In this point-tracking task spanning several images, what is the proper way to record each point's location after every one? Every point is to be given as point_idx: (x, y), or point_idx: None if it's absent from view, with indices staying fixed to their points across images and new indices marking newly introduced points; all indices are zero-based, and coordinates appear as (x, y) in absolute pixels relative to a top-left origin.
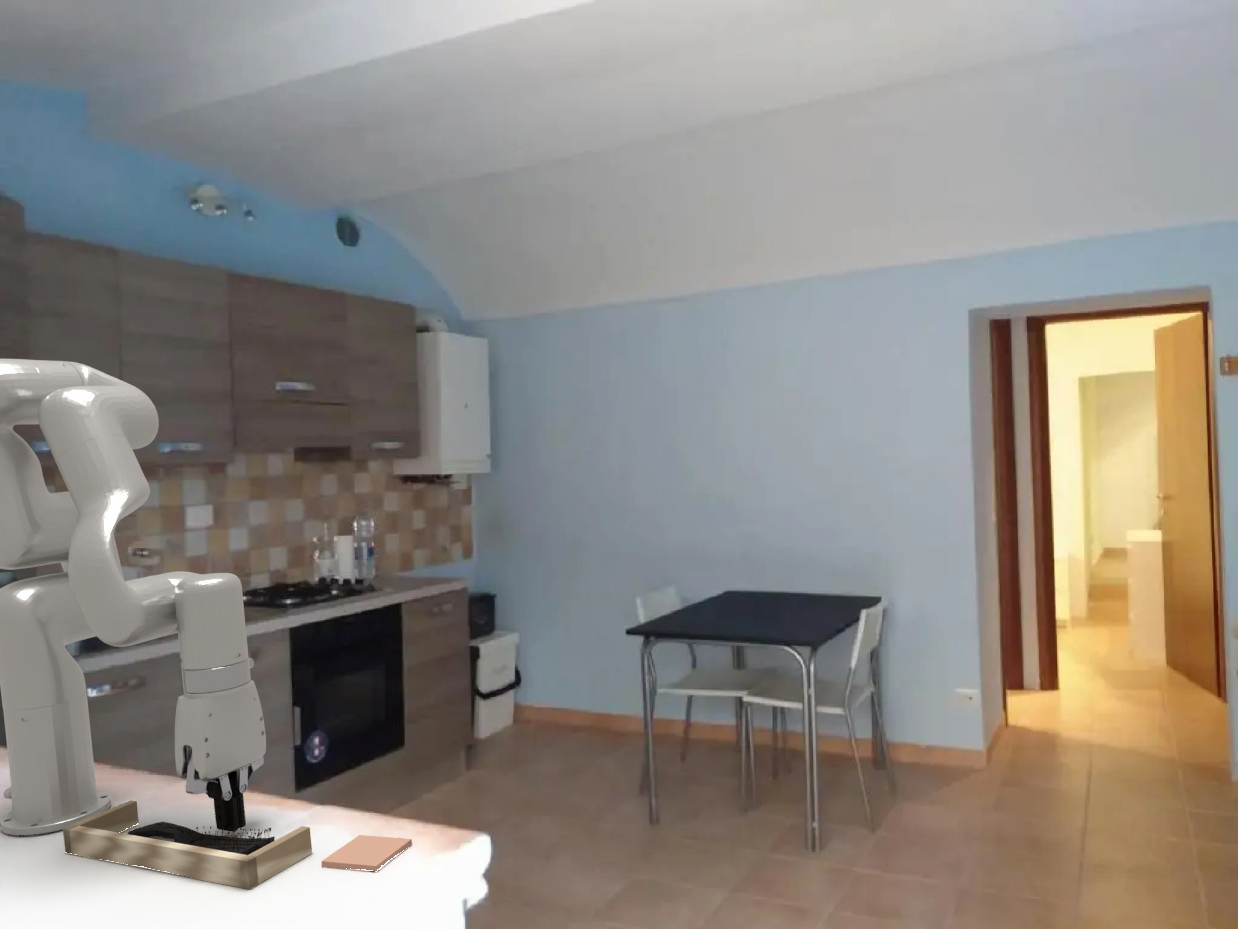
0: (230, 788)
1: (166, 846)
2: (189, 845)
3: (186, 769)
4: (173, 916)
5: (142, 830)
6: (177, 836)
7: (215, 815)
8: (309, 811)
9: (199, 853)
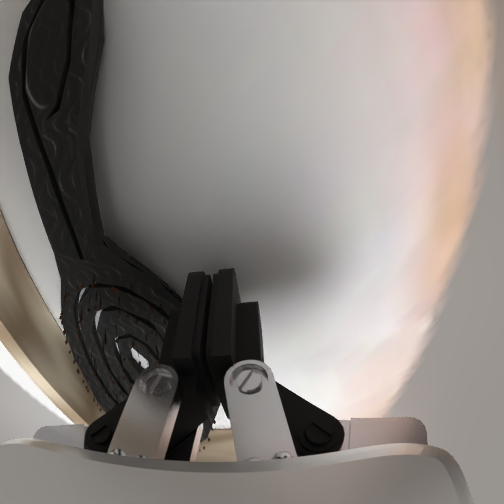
0: (197, 445)
1: (22, 366)
2: (60, 398)
3: (20, 466)
4: (45, 403)
5: (15, 89)
6: (63, 264)
7: (166, 329)
8: (401, 329)
9: (72, 421)
